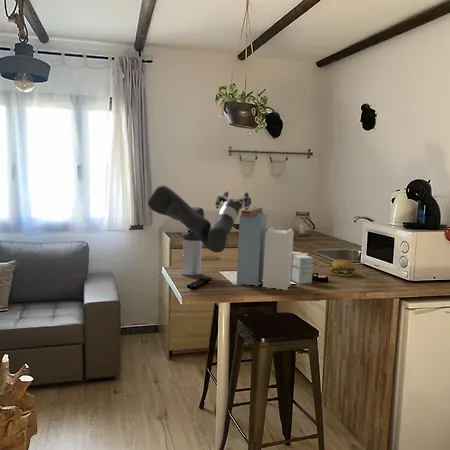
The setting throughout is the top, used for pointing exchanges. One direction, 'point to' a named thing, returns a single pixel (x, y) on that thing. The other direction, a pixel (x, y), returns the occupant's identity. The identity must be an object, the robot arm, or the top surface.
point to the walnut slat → (251, 212)
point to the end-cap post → (278, 258)
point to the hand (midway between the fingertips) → (237, 193)
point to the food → (342, 268)
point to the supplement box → (302, 269)
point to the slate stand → (251, 249)
